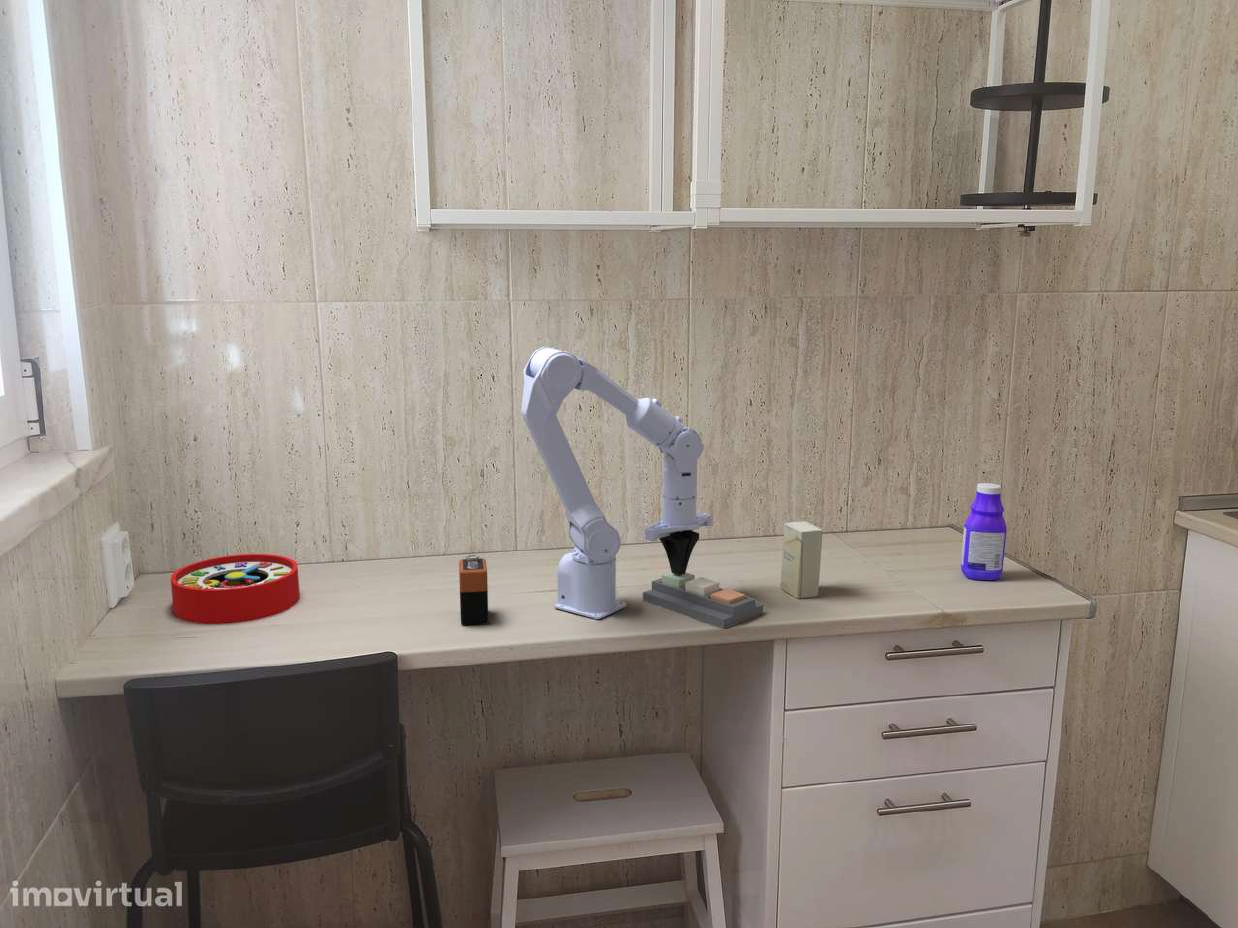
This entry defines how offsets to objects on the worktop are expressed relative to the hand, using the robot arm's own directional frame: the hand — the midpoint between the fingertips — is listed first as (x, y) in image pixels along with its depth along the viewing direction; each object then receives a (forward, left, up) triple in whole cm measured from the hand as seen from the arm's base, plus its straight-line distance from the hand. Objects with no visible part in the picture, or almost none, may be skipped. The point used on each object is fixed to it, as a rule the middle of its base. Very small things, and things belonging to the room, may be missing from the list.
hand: (678, 573), depth 168 cm
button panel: (+5, -1, -5) cm, 7 cm away
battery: (-22, -28, -5) cm, 35 cm away
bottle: (+38, +43, -5) cm, 58 cm away
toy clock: (-59, -46, -5) cm, 75 cm away
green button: (0, 0, -2) cm, 2 cm away
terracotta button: (+11, -2, -3) cm, 11 cm away
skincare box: (+15, +15, -5) cm, 22 cm away
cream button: (+5, -1, -2) cm, 6 cm away
